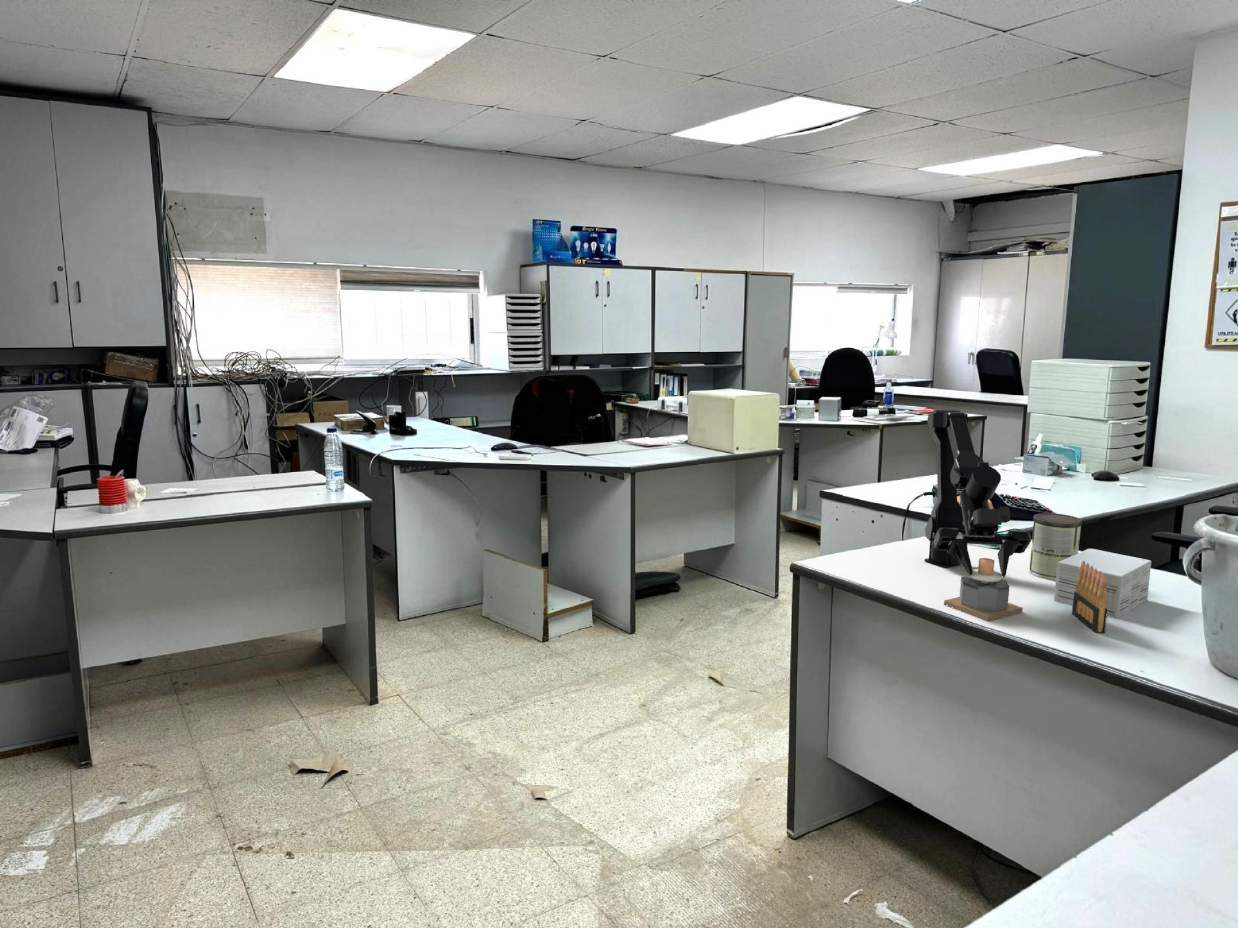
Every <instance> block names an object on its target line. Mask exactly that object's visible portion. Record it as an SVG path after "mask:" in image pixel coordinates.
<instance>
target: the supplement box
mask: <svg viewBox="0 0 1238 928" xmlns="http://www.w3.org/2000/svg"><path fill="white" fill-rule="evenodd" d="M1083 561H1085V564H1087V563H1088V564H1089V567H1091V566H1093V569H1094V570H1095V568H1096V569H1097V571H1098V572H1099V571H1101V573H1102V575H1103V574H1105V575H1106V580H1107V586H1106V594H1107V598H1106V608H1107V616H1110V617H1115V618H1119V617H1120V616H1122V615H1124V614H1125V613H1127V612H1129V611H1130V610H1132V609H1134V608H1135V607H1137V606H1139V605H1141V604H1143V602H1145V601H1148V596H1149V587H1150V578H1151V570H1152V568H1151V566H1152V560H1149V559H1145V558H1140V557H1134V556H1131V555H1130V556H1129V555H1124V554H1119V553H1114V552H1110V551H1105V550H1100V549H1096V548H1087V549H1084V550H1083V551H1081V552H1078V554H1076V555H1073V556H1071V557H1069V558H1067V559H1064V560H1062V561H1060V562H1058V563H1057V574H1056V580H1055V587H1054V597H1053V598H1054V599H1053V600H1054V602H1057V603H1059V604H1064V605H1068V606H1072V607H1073V599H1074V592H1075V591H1076V587H1077V580H1078V577H1079V571H1080V566H1081V564H1082V562H1083Z"/></svg>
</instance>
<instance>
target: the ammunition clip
mask: <svg viewBox="0 0 1238 928" xmlns="http://www.w3.org/2000/svg"><path fill="white" fill-rule="evenodd" d="M1106 586H1107V580H1106V575H1105V574H1103V575H1102V573H1101V571H1099V572H1098V571H1097V569H1096V568H1095V570H1094V569H1093V566H1091V567H1089V564H1088V563H1087V564H1085V561H1083V562H1082V564H1081V566H1080V571H1079V577H1078V580H1077V587H1076V591H1075V592H1074V599H1073V606H1072V609H1071V615H1072V616H1073V617H1074V618H1076V619H1077V620H1078V621H1080V623H1083V625H1085V626H1086V627H1087V629H1090V631H1092V632H1094V633H1095V634H1106V624H1107V616H1108V615H1107V608H1106V598H1107V594H1106Z"/></svg>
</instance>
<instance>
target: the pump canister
mask: <svg viewBox="0 0 1238 928" xmlns="http://www.w3.org/2000/svg"><path fill="white" fill-rule="evenodd" d="M1009 594H1010V585H1009V583H1008V581H1007V580H1006V579H1002V580H1001V581H998V582H988V584H986V583H981V581H979V580H975V579H973V578H971V577H969V574H968V575H963V576H960V587H959V596H957V597H953V598H949V599H945V600H943V605H944V606H946V605H948V606H947V607H948V608H951V607H953V608H952V609H955V610H957V609H958V610H957V611H959V610H961V611H960V612H961V613H965V614H968V615H970V616H973V617H975V618H978V619H981V620H984V621H986V622H990V621H993V620H997V619H1001V618H1004V617H1010V616H1012V615H1013V616H1014V615H1016V614H1020V613H1023V609H1024V608H1023V607H1022V606H1020V605H1017V604H1014V603H1011V602H1009V597H1010V596H1009Z"/></svg>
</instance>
